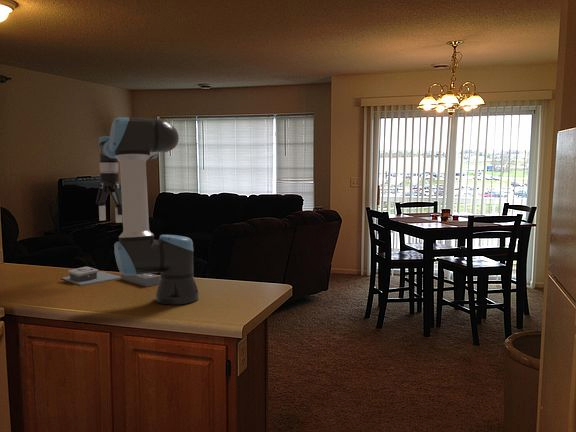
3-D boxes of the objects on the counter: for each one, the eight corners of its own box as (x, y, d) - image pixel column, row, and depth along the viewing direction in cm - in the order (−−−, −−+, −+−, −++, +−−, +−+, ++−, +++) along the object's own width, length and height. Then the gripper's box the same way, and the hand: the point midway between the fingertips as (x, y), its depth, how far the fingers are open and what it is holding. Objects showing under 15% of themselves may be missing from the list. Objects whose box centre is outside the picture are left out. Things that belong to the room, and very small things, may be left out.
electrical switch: (99, 270, 213) (79, 270, 206) (98, 282, 213) (77, 282, 206) (87, 266, 219) (67, 266, 211) (86, 278, 219) (65, 278, 211)
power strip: (159, 284, 206) (159, 274, 205) (146, 287, 201) (146, 277, 201) (133, 277, 219) (133, 267, 219) (121, 279, 215) (120, 269, 214)
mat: (122, 278, 216) (122, 277, 216) (81, 285, 203) (81, 284, 203) (101, 272, 228) (101, 271, 228) (61, 278, 215) (61, 277, 215)
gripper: (132, 172, 213) (134, 222, 215) (102, 172, 229) (103, 219, 231) (116, 172, 207) (118, 224, 209) (86, 172, 223) (88, 220, 225)
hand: (110, 221), depth 220 cm, fingers open, 13 cm apart
